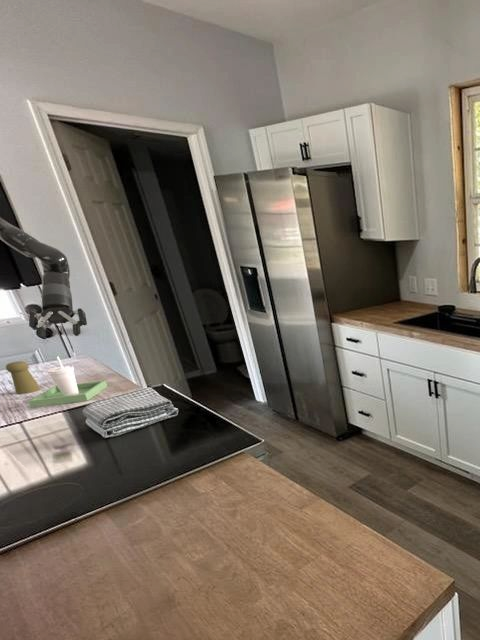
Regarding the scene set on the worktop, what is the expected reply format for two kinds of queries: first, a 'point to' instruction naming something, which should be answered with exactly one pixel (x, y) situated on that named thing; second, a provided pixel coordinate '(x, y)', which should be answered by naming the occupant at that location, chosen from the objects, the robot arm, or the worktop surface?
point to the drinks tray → (56, 396)
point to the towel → (128, 412)
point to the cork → (22, 378)
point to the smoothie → (64, 379)
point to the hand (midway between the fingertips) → (59, 336)
